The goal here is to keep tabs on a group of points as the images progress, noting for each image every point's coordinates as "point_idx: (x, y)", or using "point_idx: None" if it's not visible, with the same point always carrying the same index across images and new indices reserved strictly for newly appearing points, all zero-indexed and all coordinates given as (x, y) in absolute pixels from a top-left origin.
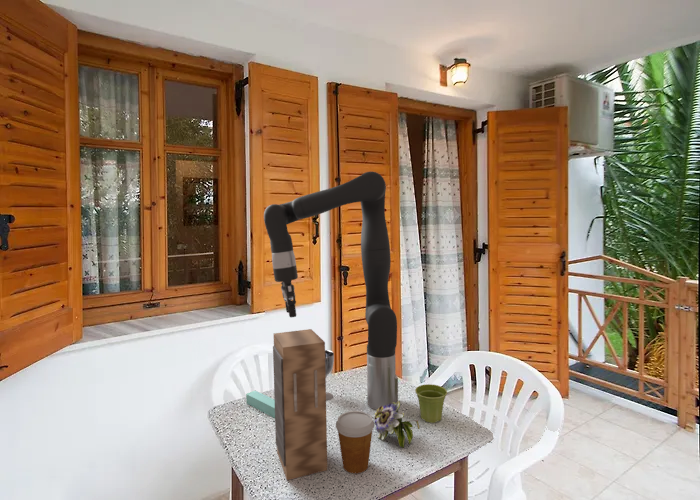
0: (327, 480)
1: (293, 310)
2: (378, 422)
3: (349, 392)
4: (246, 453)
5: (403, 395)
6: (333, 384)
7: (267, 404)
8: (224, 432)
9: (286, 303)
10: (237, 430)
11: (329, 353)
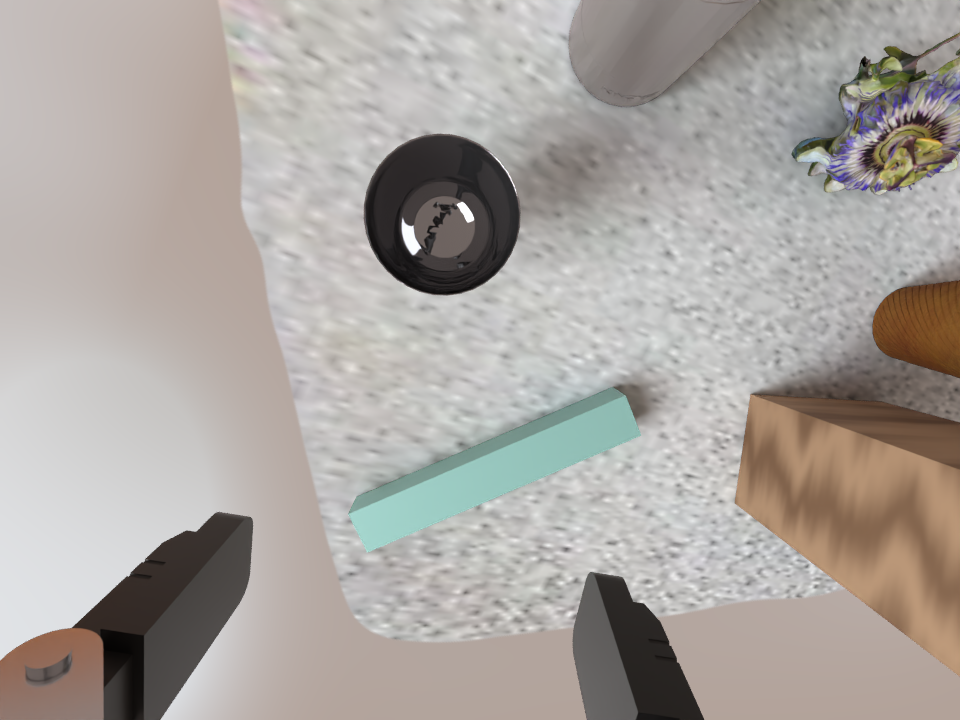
0: None
1: (675, 682)
2: (860, 172)
3: (461, 119)
4: (693, 579)
5: None
6: (349, 150)
7: (499, 495)
8: (548, 621)
9: (161, 700)
10: (555, 585)
11: (406, 150)
